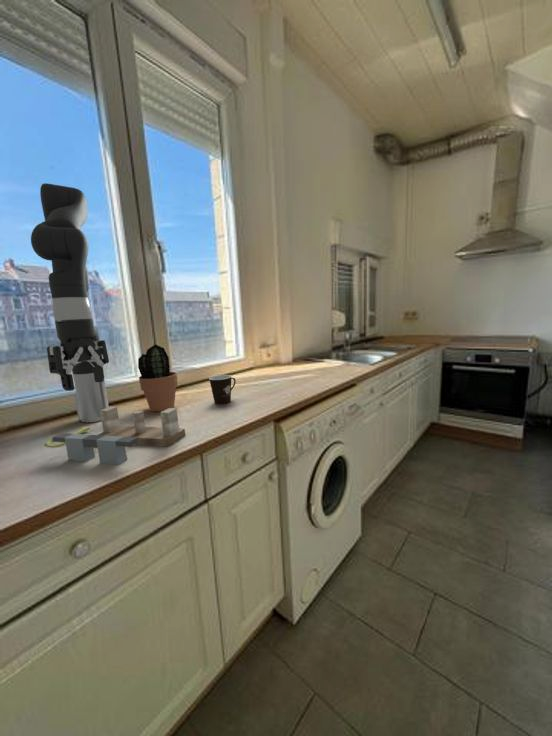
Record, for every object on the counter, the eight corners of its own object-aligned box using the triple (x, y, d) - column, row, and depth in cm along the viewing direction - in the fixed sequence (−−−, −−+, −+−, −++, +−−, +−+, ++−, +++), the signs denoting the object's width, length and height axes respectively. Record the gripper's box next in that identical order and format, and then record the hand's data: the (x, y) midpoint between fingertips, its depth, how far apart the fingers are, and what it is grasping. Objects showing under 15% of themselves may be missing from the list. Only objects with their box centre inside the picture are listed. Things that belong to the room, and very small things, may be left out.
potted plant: (180, 401, 130) (173, 341, 126) (181, 410, 118) (173, 343, 113) (144, 406, 126) (136, 344, 122) (141, 416, 113) (132, 347, 109)
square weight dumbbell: (56, 459, 81) (52, 437, 80) (66, 454, 84) (62, 432, 83) (132, 466, 75) (129, 442, 74) (140, 460, 77) (137, 437, 76)
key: (92, 431, 101) (91, 425, 101) (62, 448, 89) (60, 441, 89) (72, 432, 102) (70, 426, 102) (39, 448, 90) (38, 441, 90)
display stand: (97, 441, 91) (92, 412, 90) (118, 431, 99) (114, 404, 97) (169, 446, 85) (165, 415, 83) (185, 435, 92) (181, 406, 91)
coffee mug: (215, 406, 120) (212, 381, 118) (209, 401, 127) (206, 377, 126) (243, 401, 125) (241, 376, 123) (236, 396, 133) (234, 373, 131)
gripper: (86, 318, 81) (96, 379, 84) (31, 320, 68) (45, 393, 70) (110, 316, 79) (119, 379, 82) (57, 318, 65) (71, 393, 68)
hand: (85, 386), depth 76 cm, fingers open, 8 cm apart
